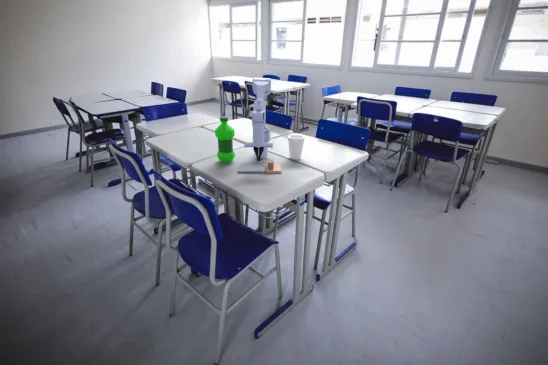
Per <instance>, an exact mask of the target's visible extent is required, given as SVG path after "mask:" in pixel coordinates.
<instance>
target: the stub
mask: <svg viewBox="0 0 548 365" xmlns="http://www.w3.org/2000/svg"><path fill="white" fill-rule="evenodd" d="M265 174H282V166H281V163H274V159H271V158H268V159H267V163H265Z"/></svg>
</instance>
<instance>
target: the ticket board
mask: <svg viewBox="0 0 548 365" xmlns="http://www.w3.org/2000/svg"><path fill="white" fill-rule="evenodd" d="M237 173H238V174H266V163H239V165H238V170H237Z"/></svg>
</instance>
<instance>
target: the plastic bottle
mask: <svg viewBox="0 0 548 365" xmlns="http://www.w3.org/2000/svg"><path fill="white" fill-rule="evenodd" d="M219 121H220V124H219V125H218V126H217V127H216V128H215V130H214V135H215V137H216V139H217V146H218V147H217V148H218V150H217V153H216V156H217V159H218V161H219V162H221V163H223V164H229V163H231V162H232V161H233V160H234V158H235V157H236V153H235V152H234V147H233V138H234V137H235V135H236V134H235V133H236V132H235V130H234V128H233V127H232V126H231V125H229V123H228V121H229V116H220V117H219Z"/></svg>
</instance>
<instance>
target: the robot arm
mask: <svg viewBox="0 0 548 365" xmlns="http://www.w3.org/2000/svg"><path fill="white" fill-rule="evenodd" d="M271 79H272V78H270V77H269V78H266V77H265V78H264V77H262V78H261V77H260V78H259V77H256V78H255V77H253V78H252V82H251V84H252V87H251V88H252V91H253V94H254V95H256V99H255V100H254V101H253V109H252V111H253V112H251V123H252V124H251V126H252V142H244V144H243V145H244V146H243V147H244V148H245V149H246V148H253V149H252V150H253V152H254V159H256V160H257V162H261V160H262V159H264V160H265V159H267V160H268V159H269V152H268V151H269V150H268V148H270V149H273V148H274V146H273V145H274V144H273V143H272V142H270V141H271V129H270V128H269V126H267V125H266V117H267V116H266V111H267V110H266V109H267V108H266V107H267V106H266V104H267V96H269V95H271V92H272V89H271V88H272V80H271Z"/></svg>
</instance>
